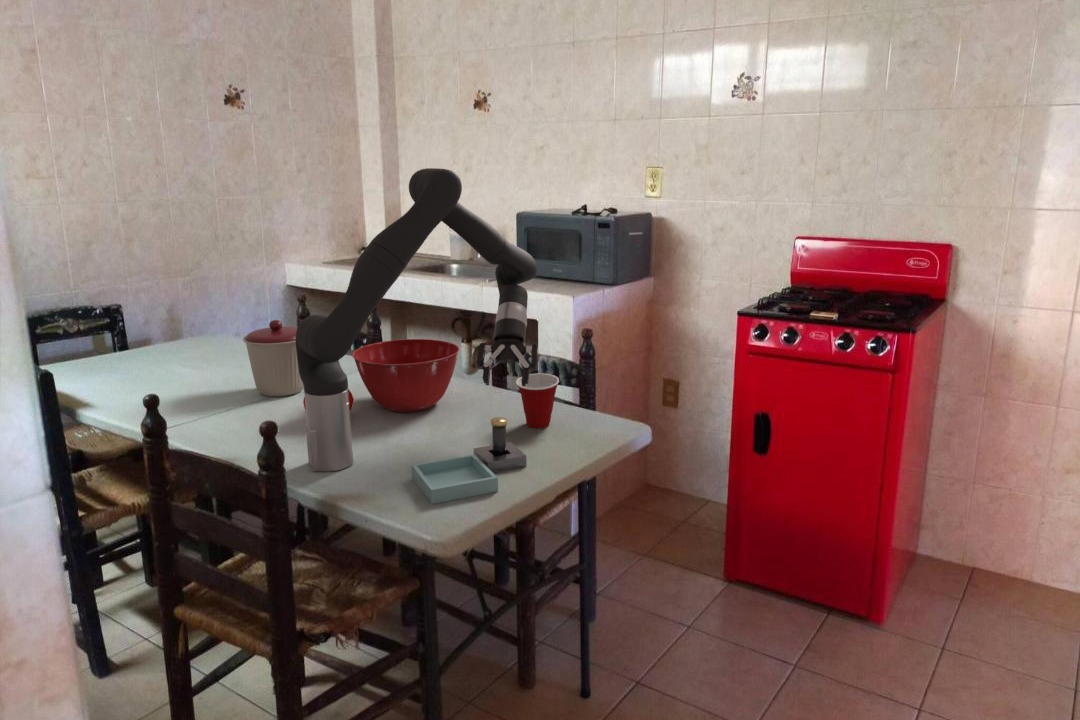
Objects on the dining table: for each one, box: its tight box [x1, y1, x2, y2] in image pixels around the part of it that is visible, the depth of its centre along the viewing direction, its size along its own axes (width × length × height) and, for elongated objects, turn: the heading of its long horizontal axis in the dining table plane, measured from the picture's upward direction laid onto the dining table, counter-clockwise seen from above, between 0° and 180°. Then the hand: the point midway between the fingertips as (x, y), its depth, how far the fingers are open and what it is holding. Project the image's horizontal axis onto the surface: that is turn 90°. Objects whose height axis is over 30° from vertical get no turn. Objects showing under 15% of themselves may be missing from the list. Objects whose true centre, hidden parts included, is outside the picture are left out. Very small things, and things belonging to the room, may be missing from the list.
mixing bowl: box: [351, 338, 460, 413], centre depth 213 cm, size 28×28×16 cm
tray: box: [411, 453, 499, 505], centre depth 163 cm, size 14×14×3 cm
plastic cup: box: [515, 373, 560, 429], centre depth 197 cm, size 11×11×12 cm
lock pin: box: [490, 416, 508, 457], centre depth 174 cm, size 4×4×10 cm
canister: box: [242, 319, 304, 397], centre depth 224 cm, size 18×18×21 cm
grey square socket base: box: [473, 441, 527, 473], centre depth 175 cm, size 9×9×2 cm
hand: (505, 384), depth 182 cm, fingers open, 8 cm apart
